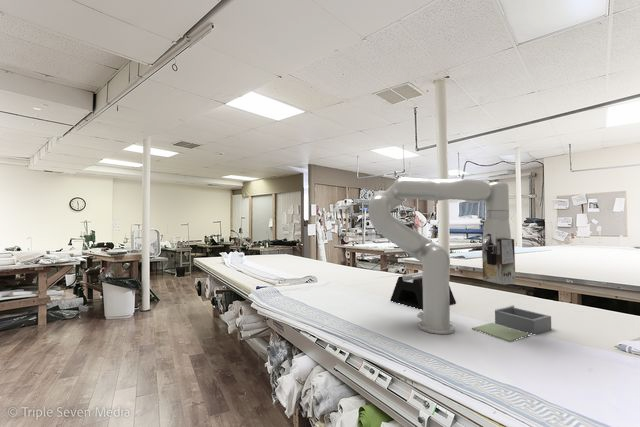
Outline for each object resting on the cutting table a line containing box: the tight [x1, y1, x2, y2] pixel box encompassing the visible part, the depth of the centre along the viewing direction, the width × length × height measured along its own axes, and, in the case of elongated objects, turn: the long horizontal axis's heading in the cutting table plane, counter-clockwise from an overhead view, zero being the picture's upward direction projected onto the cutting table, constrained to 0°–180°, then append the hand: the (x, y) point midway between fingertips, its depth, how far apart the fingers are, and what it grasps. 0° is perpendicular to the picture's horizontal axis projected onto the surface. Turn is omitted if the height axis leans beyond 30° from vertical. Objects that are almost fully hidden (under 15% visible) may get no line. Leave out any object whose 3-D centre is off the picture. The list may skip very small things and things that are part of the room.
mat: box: [471, 322, 531, 343], centre depth 111 cm, size 14×12×1 cm
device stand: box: [390, 271, 457, 311], centre depth 154 cm, size 22×22×15 cm
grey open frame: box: [494, 304, 552, 335], centre depth 118 cm, size 14×11×6 cm
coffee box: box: [481, 237, 517, 285], centre depth 112 cm, size 9×6×16 cm
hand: (498, 263), depth 112 cm, fingers closed on coffee box, 7 cm apart
